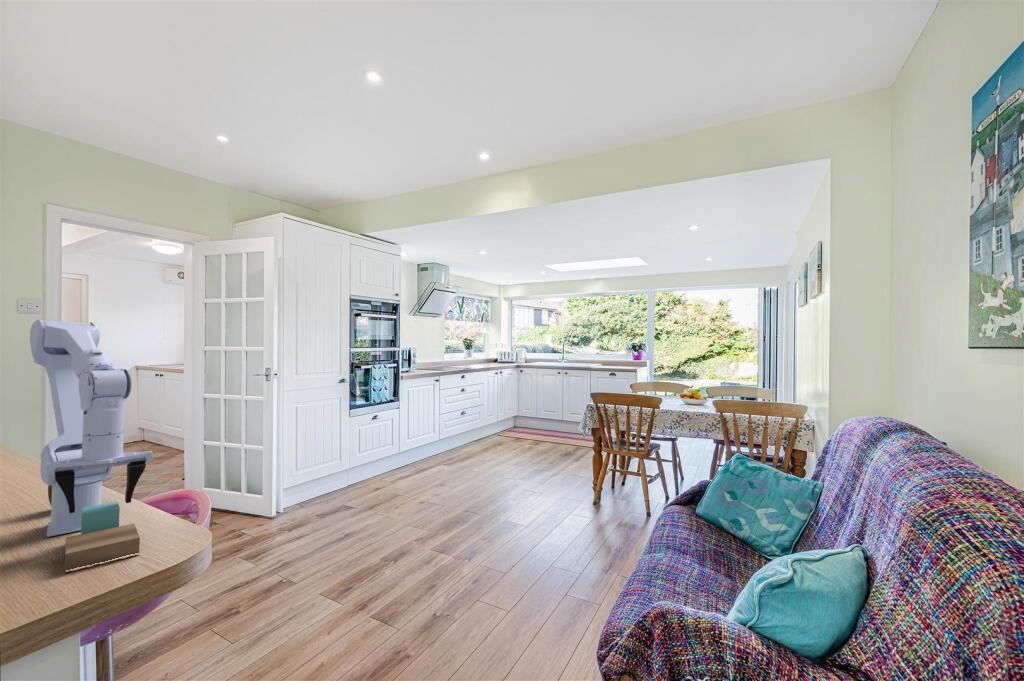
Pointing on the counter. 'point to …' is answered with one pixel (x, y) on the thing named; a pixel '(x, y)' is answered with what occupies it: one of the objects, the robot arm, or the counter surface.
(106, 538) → the walnut plinth
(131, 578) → the counter surface
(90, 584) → the counter surface
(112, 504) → the teal block
